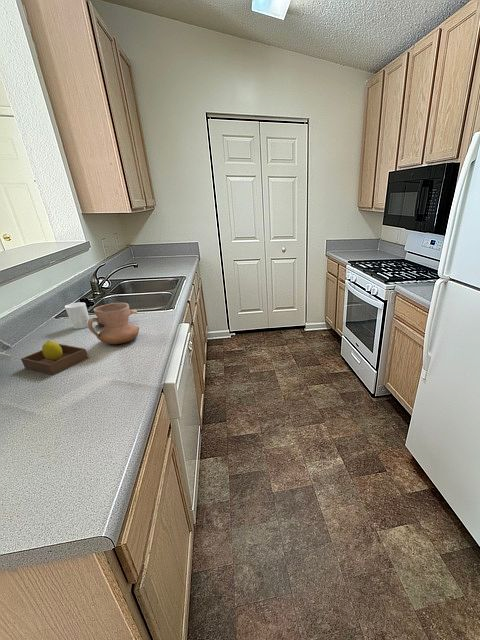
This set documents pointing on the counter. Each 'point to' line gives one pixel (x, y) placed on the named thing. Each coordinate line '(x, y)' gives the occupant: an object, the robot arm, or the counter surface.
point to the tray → (52, 367)
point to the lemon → (52, 351)
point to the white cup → (78, 314)
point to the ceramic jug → (114, 323)
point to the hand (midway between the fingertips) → (10, 353)
